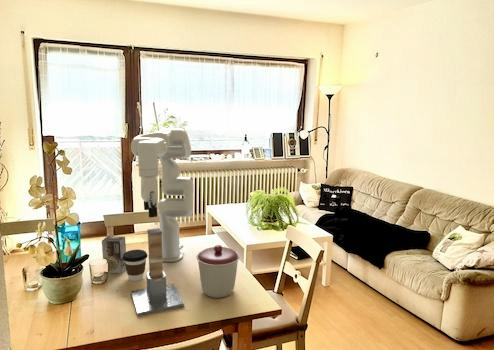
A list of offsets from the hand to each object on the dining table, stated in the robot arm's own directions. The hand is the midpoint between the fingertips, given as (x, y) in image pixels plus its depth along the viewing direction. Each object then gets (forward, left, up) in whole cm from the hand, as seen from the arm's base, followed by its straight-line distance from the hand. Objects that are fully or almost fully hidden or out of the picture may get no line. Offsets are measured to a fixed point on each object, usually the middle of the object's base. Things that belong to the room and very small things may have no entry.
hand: (150, 213), depth 156 cm
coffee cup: (-8, -15, -35) cm, 39 cm away
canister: (-11, +25, -35) cm, 45 cm away
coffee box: (-11, -29, -36) cm, 47 cm away
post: (+5, +5, -25) cm, 26 cm away
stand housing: (+5, +5, -35) cm, 36 cm away
